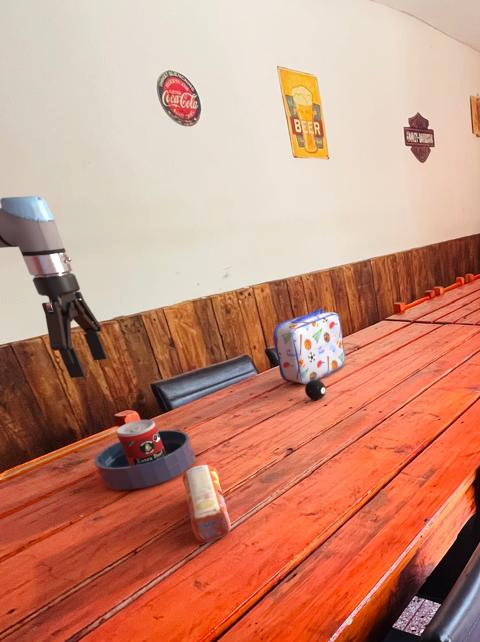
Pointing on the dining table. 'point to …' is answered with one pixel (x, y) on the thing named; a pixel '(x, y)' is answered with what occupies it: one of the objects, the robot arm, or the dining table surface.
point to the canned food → (141, 442)
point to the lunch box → (309, 346)
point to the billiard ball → (315, 389)
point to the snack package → (206, 503)
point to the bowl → (128, 477)
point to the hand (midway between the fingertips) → (90, 367)
